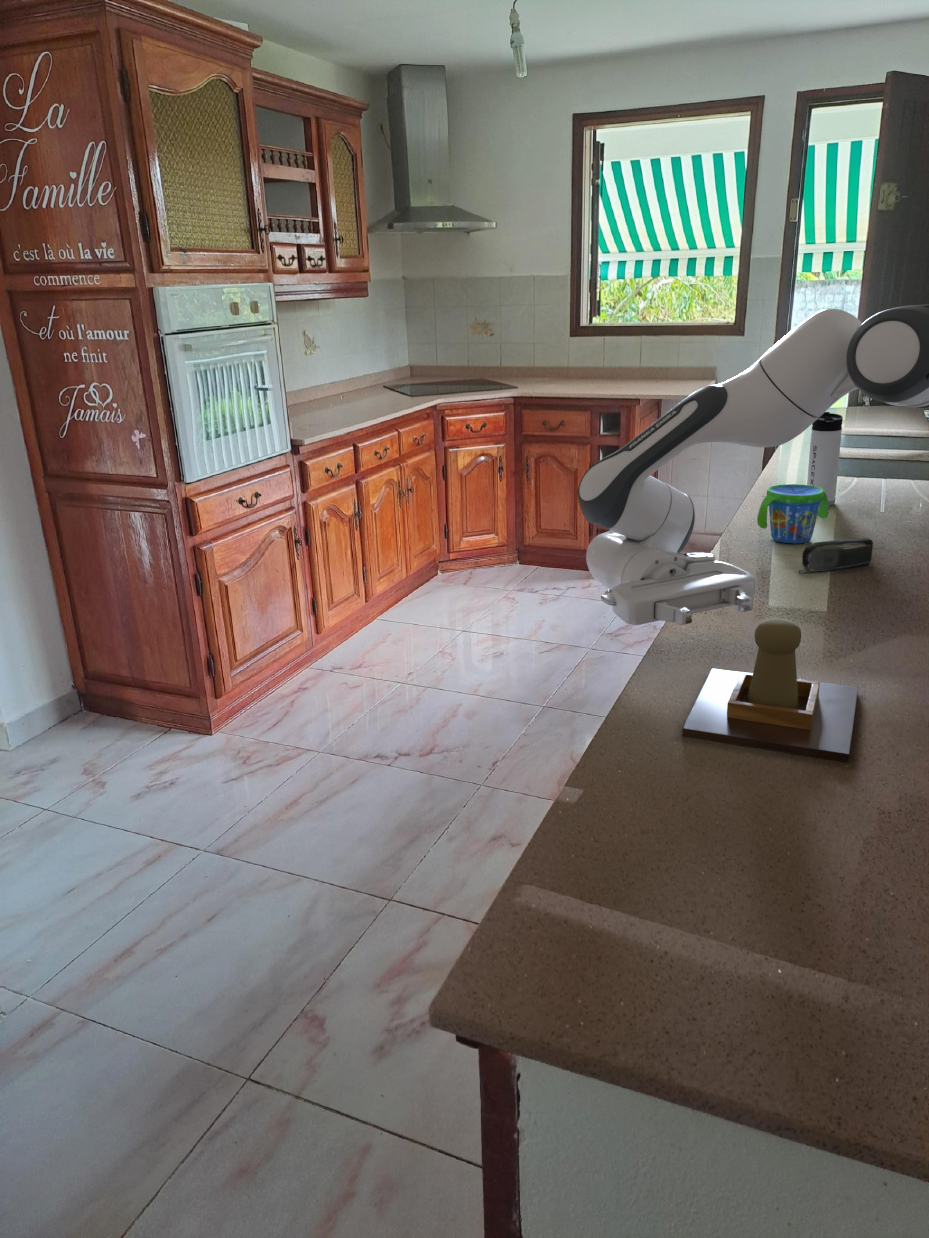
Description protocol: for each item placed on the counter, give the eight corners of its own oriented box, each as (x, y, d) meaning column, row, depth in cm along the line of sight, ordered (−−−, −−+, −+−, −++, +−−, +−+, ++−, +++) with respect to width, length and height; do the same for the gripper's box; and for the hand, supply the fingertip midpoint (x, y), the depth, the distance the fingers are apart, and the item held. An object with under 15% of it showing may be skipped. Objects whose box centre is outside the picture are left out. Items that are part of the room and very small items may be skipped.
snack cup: (809, 528, 181) (813, 480, 177) (842, 541, 171) (847, 490, 168) (741, 538, 178) (744, 488, 174) (771, 551, 168) (775, 499, 164)
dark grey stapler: (865, 535, 158) (794, 544, 154) (877, 539, 156) (805, 548, 152) (862, 561, 160) (791, 571, 156) (874, 566, 157) (802, 575, 153)
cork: (793, 721, 103) (801, 634, 99) (741, 712, 106) (746, 627, 102) (803, 700, 108) (810, 616, 104) (752, 692, 110) (757, 610, 107)
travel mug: (831, 499, 202) (839, 411, 195) (837, 506, 196) (846, 415, 189) (802, 499, 204) (809, 412, 197) (808, 506, 198) (815, 416, 191)
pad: (711, 675, 118) (712, 654, 117) (857, 693, 111) (860, 672, 110) (682, 735, 103) (682, 712, 102) (848, 762, 96) (851, 738, 94)
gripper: (594, 573, 121) (649, 603, 109) (718, 550, 128) (783, 576, 116) (594, 616, 123) (648, 650, 111) (716, 591, 130) (780, 621, 118)
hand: (718, 612), depth 114 cm, fingers open, 8 cm apart
